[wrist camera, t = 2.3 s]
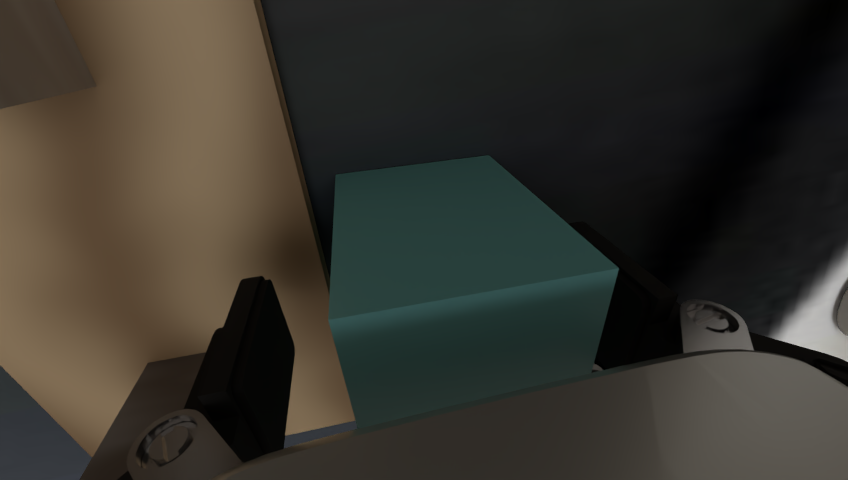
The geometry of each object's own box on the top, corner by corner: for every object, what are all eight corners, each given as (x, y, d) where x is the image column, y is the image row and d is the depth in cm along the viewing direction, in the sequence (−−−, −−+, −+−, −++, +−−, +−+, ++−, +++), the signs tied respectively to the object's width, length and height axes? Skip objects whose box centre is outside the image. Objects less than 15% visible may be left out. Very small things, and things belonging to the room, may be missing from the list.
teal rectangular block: (488, 155, 14) (618, 268, 7) (485, 276, 17) (575, 433, 10) (336, 174, 13) (328, 319, 7) (360, 297, 16) (372, 482, 10)
